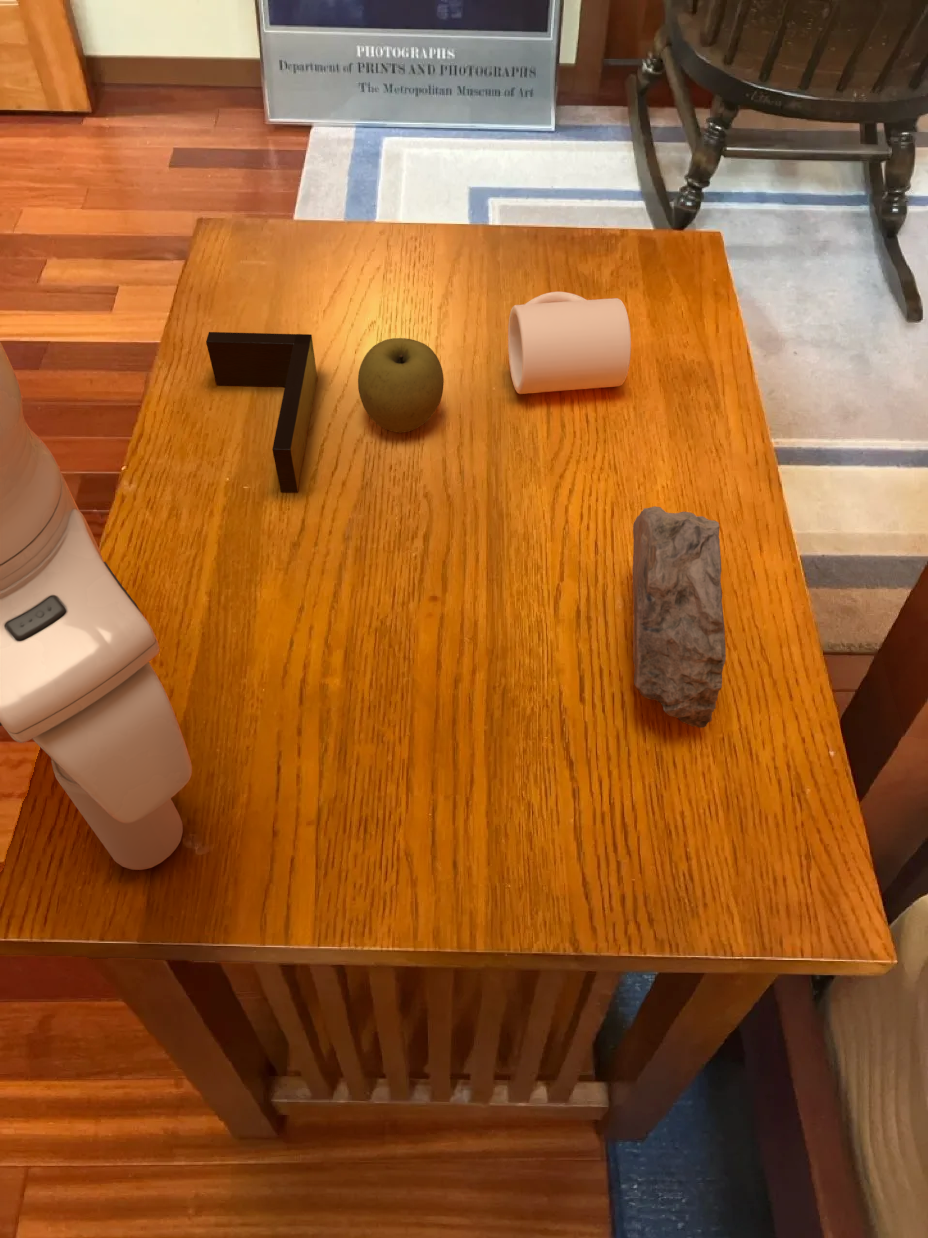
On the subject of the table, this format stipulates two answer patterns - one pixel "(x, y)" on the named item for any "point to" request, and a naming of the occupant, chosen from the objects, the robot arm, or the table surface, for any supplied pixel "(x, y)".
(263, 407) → the table surface
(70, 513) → the robot arm
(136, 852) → the beverage can
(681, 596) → the decorative rock
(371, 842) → the table surface
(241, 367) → the bracket
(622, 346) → the mug
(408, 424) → the apple
